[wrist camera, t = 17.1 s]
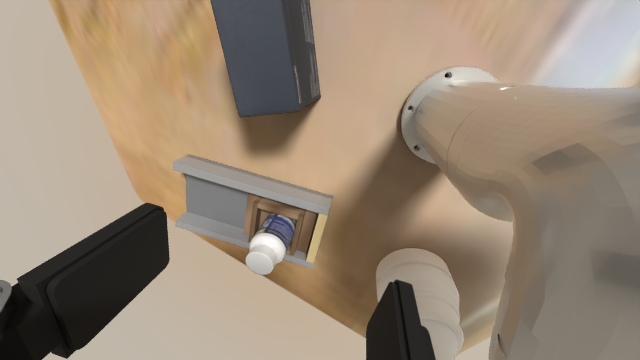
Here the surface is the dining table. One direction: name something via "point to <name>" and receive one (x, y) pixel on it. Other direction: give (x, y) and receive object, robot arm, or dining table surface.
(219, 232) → the bay
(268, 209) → the crate
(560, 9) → the dining table surface
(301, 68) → the small box
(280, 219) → the pill bottle
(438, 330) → the honey pot
